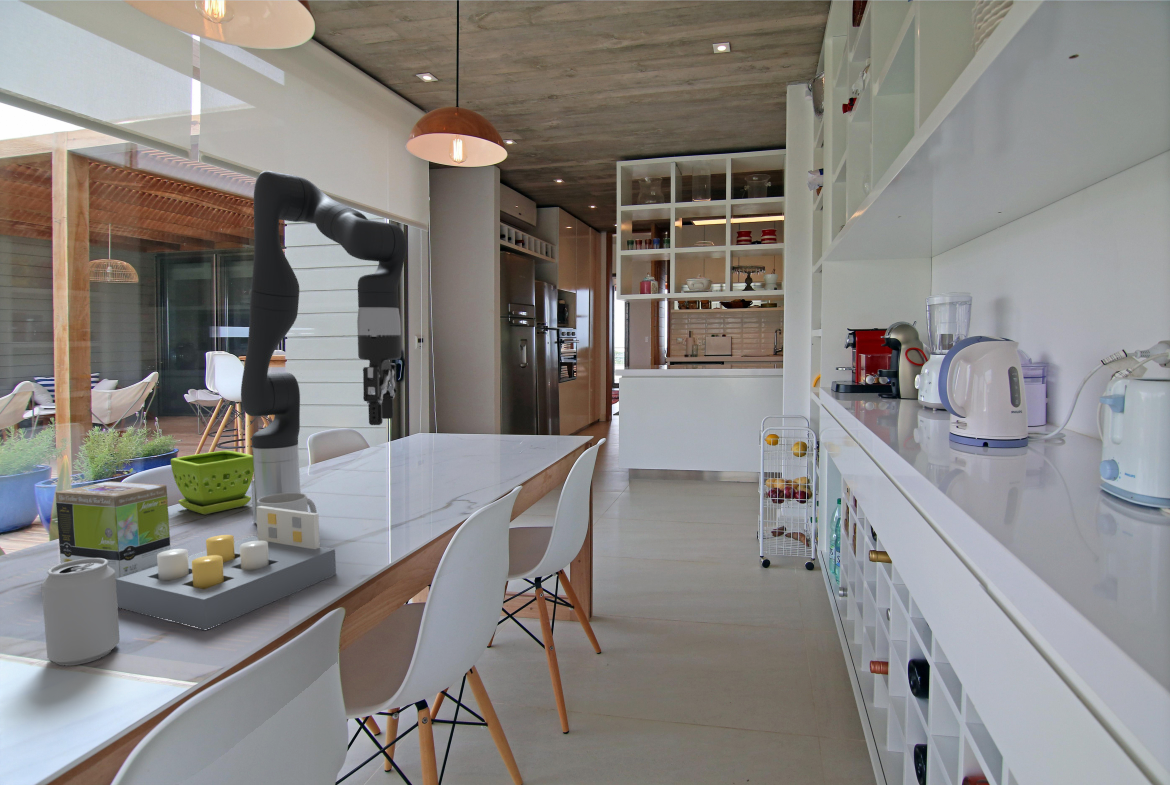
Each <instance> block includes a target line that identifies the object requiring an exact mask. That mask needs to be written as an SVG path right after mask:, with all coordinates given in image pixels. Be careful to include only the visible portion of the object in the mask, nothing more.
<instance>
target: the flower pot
mask: <svg viewBox="0 0 1170 785" xmlns="http://www.w3.org/2000/svg"><path fill="white" fill-rule="evenodd" d="M170 466H171V472H172V475H173V479H174V481H175V484H176V487H177V488H178V490H179V492H180V493H181V495H182V496H183V498H181V499H179V500H178V504H179V505H181V507H182V508H185V509H187V510H188V511H192V512H195V513H198V514H201V515H203V516H205V515H209V514H213V513H218V512H223V511H228V510H233V509H236V508H244V506H246V505H247V504H248V503H249V502H250V501H252V496H250V495H246V494H247V492H248V491H249V488H250V487H251V482H252V480H253V478H254V468H253V454H250V453H243V452H239V451H233V450H218V451H213V452H205V453H203V452H202V453H198V454H197V453H196V454H191V455H185V456H178V457H174V458H171V459H170Z"/></svg>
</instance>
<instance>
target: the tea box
mask: <svg viewBox="0 0 1170 785" xmlns="http://www.w3.org/2000/svg"><path fill="white" fill-rule="evenodd" d="M167 487H168V486H167V485H166V484H159V483H158V484H155V483H154V484H153V483H140V482H127V481H125V482H124V481H123V482H121V481H104V482H99V483H94V484H89V485H84V486H79V487H74V488H70V489H69V488H68V489H63V490H59V491H56V492H55V503H56V504H55V505H56V515H57V517H56V518H57V531H58V545H59V560H60V564H62V563H65V562H69V561H74V560H79V559H87V558H103V559H106V560H108V564H107V565H108V566H109V567H111V568H112V569H114V570H115V580H116V579H117V578H120V577H124V576H127V575H130V574H133V573H136V572H140V571H143V570H146V569H149V568H152V567H155V566H158V562H157V554H159V553H161V552H163V551H167V550H172V549H171V538H170V536H171V535H170V534H171V533H170V522H169V516H170V515H169V508H168V506H169V502H168V501H169V500H168V498H169V497H168V488H167Z"/></svg>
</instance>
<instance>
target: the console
mask: <svg viewBox="0 0 1170 785" xmlns="http://www.w3.org/2000/svg"><path fill="white" fill-rule="evenodd" d="M256 511H257V524H256V527H257V528H256V529H257V535H251V536H248V537H247V536H246V537H245V538H241V539H239V540H234V551H235V559H233V560H230V561H227V562H224V563H223V575H224V582H223V583H220V584H217V585H215V586H212V587H209V588H207V589H200V588H195V587H193V575H192V561H193V560H194V559H197V558H200V557H204V556H207V549H205V550H204V551H200V552H197V553H194V554H190V555H188V566H189V575H186V576H183V577H180V578H177V579H174V580H171V581H164V580H159V577H158V566H155V567H152V568H149V569H146V570H143V571H140V572H136V573H133V574H130V575H127V576H124V577H120V578H117V579H115V580H116V594H117V608H118V607H119V608H118V609H121V608H122V609H121V610H124V609H126V610H125V611H128V610H130V611H129V612H132V611H134V612H133V613H136V612H138V613H137V614H140V613H143V614H142V615H144V614H147V615H151V616H155V617H159V618H163V619H168V620H172V621H175V622H179V623H183V624H187V625H190V626H195V627H198V628H201V629H208V628H211V627H213V626H216V625H218V624H220V625H222V624H221V623H223V624H225V623H227V622H230V621H232V620H234V619H236V617H237V618H238V617H239V618H240V617H241V616H243V615H245V613H246V614H248V613H250V612H253V611H255V610H257V609H260V608H261V607H265V606H267V605H269V604H271V603H274V602H276V601H278V600H281V599H282V598H286V597H288V596H289V595H292V594H294V593H297V592H299V591H301V590H304V589H305V588H308V587H310V586H313V585H315V584H318V583H319V582H321V581H324V580H326V579H329V578H331V577H333V576H336V575H337V566H336V548H331V547H326V546H321V544H320V542H321V540H320V524H319V523H320V520H319V513H318V512H317V513H311V511H310V512H309V511H308V512H303V511H295V510H288V509H281V508H273V507H266V506H259V507H256ZM260 540H261V541H267V542H268V558H269V566H266V567H263V568H261V569H258V570H255V571H247V570H242V569H241V558H240V545H241V544H243V543H246V542H250V541H260ZM273 601H274V602H273ZM147 615H146V616H147ZM151 616H150V617H151ZM155 617H154V618H155ZM159 618H158V619H159ZM163 619H162V620H163ZM231 619H232V620H231ZM229 620H230V621H229ZM224 622H225V623H224ZM218 626H219V625H218ZM216 627H217V626H216ZM213 628H214V627H213ZM201 629H200V630H201ZM211 629H212V628H211Z"/></svg>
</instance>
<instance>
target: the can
mask: <svg viewBox="0 0 1170 785" xmlns="http://www.w3.org/2000/svg"><path fill="white" fill-rule="evenodd" d="M107 564H108V560H106V559H103V558H87V559H79V560H74V561H69V562H65V563H62V564H61V563H58V564H56V565H53V566H52V567H51V568H49V569H48V570H47V571H46V574H48V575H47V577H46V578H45V579H44V580H43V581H42V583H41V595H42V607H43V608H42V609H43V620H44V634H45V644H46V657H47V659H48V660H49V661H51V662H53V663H56V664H57V665H60V666H64V665H65V667H66V666H68V667H69V666H78V665H83V664H87V663H90V662H94V661H97V660H99V659H102V658H104V657H106V656H107V655H109V654H110V653H111V652H112V651H113V650H114V648H115V647H116V646H117V645H119V643H120V624H119V612H118V610H119V608H118V604H117V590H116V579H115V570H114V569H112V568H111V567H109V566H108V565H107ZM112 649H113V650H112ZM111 650H112V651H111ZM101 657H102V658H101Z"/></svg>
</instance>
